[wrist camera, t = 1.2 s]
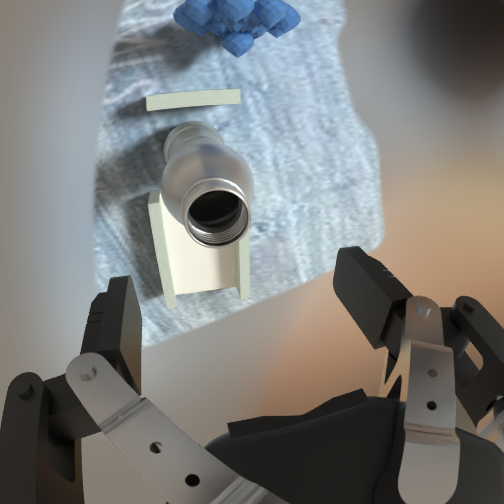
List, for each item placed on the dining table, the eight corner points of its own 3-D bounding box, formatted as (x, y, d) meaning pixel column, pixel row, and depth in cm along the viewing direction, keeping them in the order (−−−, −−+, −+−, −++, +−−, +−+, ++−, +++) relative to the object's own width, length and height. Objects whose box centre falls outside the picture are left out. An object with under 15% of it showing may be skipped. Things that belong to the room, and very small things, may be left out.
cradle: (150, 191, 34) (147, 203, 31) (241, 181, 36) (249, 192, 33) (166, 290, 42) (167, 309, 38) (243, 280, 44) (249, 297, 41)
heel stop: (149, 95, 29) (146, 96, 25) (231, 88, 30) (240, 89, 27) (150, 108, 29) (146, 111, 26) (231, 101, 31) (240, 103, 27)
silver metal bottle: (187, 107, 30) (203, 132, 14) (234, 141, 34) (300, 207, 17) (152, 153, 32) (131, 234, 15) (199, 184, 35) (229, 288, 19)
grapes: (172, 64, 27) (171, 51, 17) (173, 8, 24) (175, -28, 14) (277, 64, 30) (325, 58, 20) (279, 12, 26) (327, -14, 17)
